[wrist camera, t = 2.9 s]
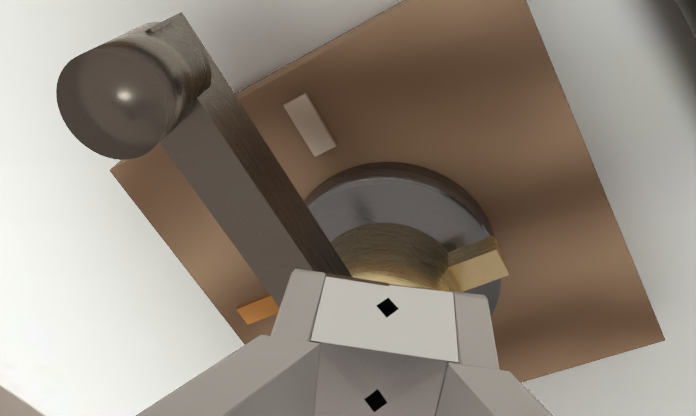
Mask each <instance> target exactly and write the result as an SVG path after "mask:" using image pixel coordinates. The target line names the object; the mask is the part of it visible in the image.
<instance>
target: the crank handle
mask: <svg viewBox="0 0 696 416" xmlns="http://www.w3.org/2000/svg"><path fill="white" fill-rule="evenodd" d="M56 92H57V102H58V107H59V110H60V113H61V115H62V118H63V120H64V122H65V123H66V125H67V127H68V128H69V130H70V131H71V132H72V133H73V135H74V136H75V137H76V138H77V139H78V140H79V141H80V142H81V143H83V144H84V145H85V146H86V147H88V148H89V149H91V150H93V151H94V152H96V153H98V154H100V155H103V156H106V157H109V158H113V159H120V160H128V159H134V158H138V157H141V156H143V155H145V154H147V153H148V152H150V151H151V150H152V149H153V148H154V147H155V146H156V145H158V144H159V143H160V144H161V145H162V146H163V148H164V149H165V151H166V152H167V153H168V155H169V156H170V157H171V159H172V160H173V162H174V163H175V164H176V166H177V167H178V168H179V170H180V171H181V173H182V174H183V175H184V177H185V178H186V180H187V181H188V182H189V184H190V185H191V186H192V188H193V189H194V191H195V192H196V193H197V195H198V196H199V197H200V199H201V200H202V202H203V203H204V204H205V206H206V207H207V209H208V210H209V211H210V213H211V214H212V215H213V217H214V218H215V220H216V221H217V222H218V224H219V225H220V226H221V228H222V229H223V231H224V232H225V233H226V235H227V236H228V238H229V239H230V240H231V242H232V243H233V244H234V246H235V247H236V249H237V250H238V251H239V253H240V254H241V255H242V257H243V258H244V260H245V261H246V262H247V264H248V265H249V267H250V268H251V269H252V271H253V272H254V273H255V275H256V276H257V278H258V279H259V280H260V282H261V283H262V284H263V286H264V287H265V289H266V290H267V291H268V293H269V294H270V296H271V297H272V298H273V300H274V301H275V302H276V304H277V305H278V307H279V308H280V306H281V303H282V300H283V297H284V294H285V291H286V288H287V285H288V282H289V279H290V276H291V273H292V272H293V271H294V270H295V269H302V270H309V271H316V272H323V273H325V274H326V275H327V273H330V274H336V275H342V276H348V277H354V278H360V279H366V280H372V281H378V282H385V283H389V284H394V285H401V286H409V287H416V288H424V289H431V290H439V291H446V292H453V291H454V292H463V291H466V290H469V289H472V288H475V287H477V286H480V285H483V284H486V283H488V282H491V281H494V280H497V279H500V278H502V277H505V276H508V275H509V269H508V264H507V260H506V258H505V256H504V254H503V252H502V250H501V248H500V246H499V244H498V242H497V240H496V238H495V236H494V235H492V236H490V237H487V238H485V239H482V240H479V241H477V242H474V243H472V244H469V245H466V246H464V247H461V248H459V249H456V250H453V251H451V252H449V251H448V250H447V249H446V248H445V247H444V246H443V245H442V244H441V243H440V242H438V241H437V240H436V239H434V238H433V237H431V236H430V235H428V234H426V233H424V232H422V231H420V230H418V229H415V228H412V227H409V226H405V225H401V224H394V223H372V224H366V225H362V226H358V227H355V228H352V229H350V230H348V231H346V232H344V233H342V234H340V235H339V236H338V237H336V238H335V239H334V240H332V241H331V242H330V241H329V239H328V238H327V236H326V235H325V233H324V232H323V230H322V229H321V227H320V226H319V224H318V222H317V221H316V219H315V218H314V216H313V215H312V213H311V212H310V210H309V209H308V207H307V205H306V204H305V202H304V201H303V199H302V198H301V196H300V195H299V193H298V191H297V190H296V188H295V187H294V185H293V184H292V182H291V181H290V179H289V178H288V176H287V174H286V173H285V171H284V170H283V168H282V167H281V165H280V164H279V162H278V161H277V159H276V157H275V156H274V154H273V153H272V151H271V150H270V148H269V147H268V145H267V143H266V142H265V140H264V139H263V137H262V136H261V134H260V133H259V131H258V130H257V128H256V126H255V125H254V123H253V122H252V120H251V119H250V117H249V116H248V114H247V113H246V111H245V109H244V108H243V106H242V105H241V103H240V102H239V100H238V99H237V97H236V95H235V94H234V92H233V91H232V89H231V88H230V86H229V85H228V83H227V82H226V80H225V78H224V77H223V75H222V74H221V72H220V71H219V69H218V68H217V66H216V65H215V63H214V61H213V60H212V58H211V57H210V55H209V54H208V52H207V51H206V49H205V47H204V46H203V44H202V43H201V41H200V40H199V38H198V37H197V35H196V34H195V32H194V30H193V29H192V27H191V26H190V24H189V23H188V21H187V20H186V18H185V17H184V15H183V13H182V12H181V13H179V14H177V15H175V16H173V17H171V18H169V19H167V20H165V21H163V22H153V23H148V24H145V25H142V26H140V27H138V28H136V29H134V30H132V31H130V32H127V33H125V34H123V35H121V36H119V37H117V38H115V39H113V40H111V41H108V42H106V43H104V44H102V45H100V46H98V47H96V48H94V49H92V50H89V51H87V52H85V53H83V54H81V55H79V56H77V57H75V58H74V59H72V60H71V61H70V62H69V63H68V64H67V65H66V66H65V67H64V69H63V70H62V72H61V74H60V76H59V79H58V83H57V91H56Z"/></svg>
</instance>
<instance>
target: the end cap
mask: <svg viewBox="0 0 696 416" xmlns="http://www.w3.org/2000/svg"><path fill="white" fill-rule="evenodd" d="M676 2H677V4H678V6H679V8H680V10H681V12H682V14H683V16H684V18H685V20H686V22H687V24H688V26H689V28H690V30H691V32H692V33H693V35H694V37H695V39H696V0H676Z"/></svg>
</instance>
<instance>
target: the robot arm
mask: <svg viewBox="0 0 696 416" xmlns="http://www.w3.org/2000/svg"><path fill="white" fill-rule="evenodd" d="M136 416H553V415H552V414H551V413H550V412H549V411H548V410H547V409H546V408H545V407H544V406H543V405H542V404H541V403H540V402H539V401H538V400H537V399H536V398H535V397H534V396H533V395H532V394H531V393H530V392H529V391H528V390H527V389H526V388H525V387H524V386H523V385H522V384H521V383H520V381H519V380H518V379H517V378H516V377H515V376H514V375H513V374H512V373H511V372H510V371H504V370H500V369H499V363H498V357H497V351H496V346H495V340H494V334H493V328H492V322H491V316H490V310H489V304H488V299H487V298H486V296H485V295H481V294H472V293H463V292H454V291H453V292H446V291H439V290H431V289H424V288H416V287H409V286H401V285H394V284H389V283H385V282H378V281H372V280H366V279H360V278H354V277H348V276H342V275H336V274H330V273H327V275H326V274H325V273H323V272H316V271H309V270H302V269H295V270H294V271H293V272H292V273H291V276H290V279H289V282H288V285H287V288H286V291H285V294H284V297H283V300H282V303H281V306H280V309H279V312H278V315H277V318H276V321H275V324H274V327H273V330H272V333H271V336H268V335H260V336H258V337H257V338H255V339H253V340H252V341H250V342H249V343H247V344H246V345H244V346H243V347H241V348H240V349H238V350H236V351H235V352H233V353H232V354H230V355H229V356H227V357H226V358H224V359H223V360H221V361H219V362H218V363H216V364H215V365H213V366H212V367H210V368H209V369H207V370H206V371H204V372H202V373H201V374H199V375H198V376H196V377H195V378H193V379H192V380H190V381H189V382H187V383H185V384H184V385H182V386H181V387H179V388H178V389H176V390H175V391H173V392H172V393H170V394H168V395H167V396H165V397H164V398H162V399H161V400H159V401H158V402H156V403H155V404H153V405H151V406H150V407H148V408H147V409H145V410H144V411H142V412H141V413H139V414H138V415H136Z"/></svg>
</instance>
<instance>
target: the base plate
mask: <svg viewBox="0 0 696 416" xmlns="http://www.w3.org/2000/svg"><path fill="white" fill-rule="evenodd" d="M235 95H236V97H237V99H238V100H239V102H240V103H241V105H242V106H243V108H244V109H245V111H246V113H247V114H248V116H249V117H250V119H251V120H252V122H253V123H254V125H255V126H256V128H257V130H258V131H259V133H260V134H261V136H262V137H263V139H264V140H265V142H266V143H267V145H268V147H269V148H270V150H271V151H272V153H273V154H274V156H275V157H276V159H277V161H278V162H279V164H280V165H281V167H282V168H283V170H284V171H285V173H286V174H287V176H288V178H289V179H290V181H291V182H292V184H293V185H294V187H295V188H296V190H297V191H298V193H299V195H300V196H301V198H302V199H303V201H304V200H305V199H306V198H307V196H308V195H309V194H310V193H311V192H312V191H313V190H314V189H315V188H316V187H317V186H318V185H320V184H321V183H323V182H324V181H325V180H327V179H328V178H330V177H332V176H333V175H335V174H337V173H339V172H341V171H344V170H346V169H349V168H352V167H355V166H359V165H363V164H368V163H376V162H400V163H408V164H413V165H417V166H421V167H425V168H428V169H430V170H433V171H436V172H438V173H440V174H442V175H444V176H446V177H448V178H450V179H451V180H453V181H454V182H456V183H457V184H458V185H460V186H461V187H463V188H464V189H465V190H466V191H467V192H468V193H469V194H470V195H471V196H472V197H473V198H474V199H475V200H476V202H477V203H478V204H479V205H480V206H481V208H482V210H483V211H484V213H485V215H486V216H487V218H488V220H489V223H490V225H491V228H492V230H493V234H494V236H495V238H496V240H497V242H498V244H499V246H500V248H501V250H502V252H503V254H504V256H505V258H506V260H507V264H508V269H509V275H508V276H505V277H502V278H501V284H500V294H499V298H498V302H497V305H496V307H495V310H494V312H493V314H492V316H491V322H492V328H493V334H494V340H495V346H496V351H497V357H498V363H499V369H500V370H504V371H510V372H511V373H512V374H513V375H514V376H515V377H516V378H517V379H518V380H519V381H520V382H524V381H527V380H531V379H534V378H538V377H541V376H544V375H548V374H551V373H555V372H558V371H562V370H565V369H568V368H572V367H575V366H579V365H582V364H585V363H589V362H592V361H596V360H599V359H603V358H606V357H609V356H613V355H616V354H620V353H623V352H627V351H630V350H633V349H637V348H640V347H644V346H647V345H651V344H654V343H657V342H661V341H664V340H665V338H664V336H663V333H662V331H661V328H660V326H659V323H658V321H657V319H656V316H655V314H654V311H653V309H652V306H651V304H650V301H649V299H648V297H647V294H646V292H645V289H644V287H643V284H642V282H641V280H640V277H639V275H638V272H637V270H636V267H635V265H634V263H633V260H632V258H631V255H630V253H629V250H628V248H627V246H626V243H625V241H624V238H623V236H622V233H621V231H620V228H619V226H618V224H617V221H616V219H615V216H614V214H613V211H612V209H611V207H610V204H609V202H608V199H607V197H606V194H605V192H604V190H603V187H602V185H601V182H600V180H599V177H598V175H597V172H596V170H595V168H594V165H593V163H592V160H591V158H590V155H589V153H588V151H587V148H586V146H585V143H584V141H583V138H582V136H581V134H580V131H579V129H578V126H577V124H576V121H575V119H574V117H573V114H572V112H571V109H570V107H569V104H568V102H567V99H566V97H565V95H564V92H563V90H562V87H561V85H560V82H559V80H558V78H557V75H556V73H555V70H554V68H553V65H552V63H551V61H550V58H549V56H548V53H547V51H546V48H545V46H544V43H543V41H542V39H541V36H540V34H539V31H538V29H537V26H536V24H535V22H534V19H533V17H532V14H531V12H530V9H529V7H528V5H527V2H526V0H404V1H402V2H400V3H398V4H397V5H395V6H393V7H391V8H389V9H388V10H386V11H384V12H382V13H380V14H379V15H377V16H375V17H373V18H371V19H370V20H368V21H366V22H364V23H362V24H361V25H359V26H357V27H355V28H353V29H352V30H350V31H348V32H346V33H344V34H342V35H341V36H339V37H337V38H335V39H333V40H332V41H330V42H328V43H326V44H324V45H323V46H321V47H319V48H317V49H315V50H314V51H312V52H310V53H308V54H306V55H305V56H303V57H301V58H299V59H297V60H296V61H294V62H292V63H290V64H288V65H287V66H285V67H283V68H281V69H279V70H278V71H276V72H274V73H272V74H270V75H269V76H267V77H265V78H263V79H261V80H260V81H258V82H256V83H254V84H252V85H251V86H249V87H247V88H245V89H243V90H242V91H240V92H238V93H236V94H235ZM110 172H111V173H112V174H113V175H114V177H115V178H116V179H117V181H118V182H119V183H120V184H121V186H122V187H123V188H124V190H125V191H126V192H127V193H128V195H129V196H130V197H131V199H132V200H133V201H134V202H135V204H136V205H137V206H138V208H139V209H140V210H141V211H142V213H143V214H144V215H145V217H146V218H147V219H148V220H149V222H150V223H151V224H152V226H153V227H154V228H155V229H156V231H157V232H158V233H159V235H160V236H161V237H162V238H163V240H164V241H165V242H166V244H167V245H168V246H169V247H170V249H171V250H172V251H173V253H174V254H175V255H176V257H177V258H178V259H179V260H180V262H181V263H182V264H183V266H184V267H185V268H186V269H187V271H188V272H189V273H190V275H191V276H192V277H193V278H194V280H195V281H196V282H197V284H198V285H199V286H200V287H201V289H202V290H203V291H204V293H205V294H206V295H207V296H208V298H209V299H210V300H211V302H212V303H213V304H214V305H215V307H216V308H217V309H218V311H219V312H220V313H221V314H222V316H223V317H224V318H225V320H226V321H227V322H228V323H229V325H230V326H231V327H232V329H233V330H234V331H235V332H236V334H237V335H238V336H239V338H240V339H241V340H242V341H243V343H244V344H245V345H246V344H247V343H249V342H250V341H252V340H253V339H255V338H257V337H258V336H260V335H268V336H271V333H272V330H273V327H274V324H275V321H276V318H277V315H278V312H279V309H280V308H279V307H278V305H277V304H276V302H275V301H274V300H273V298H272V297H271V296H270V294H269V293H268V291H267V290H266V289H265V287H264V286H263V284H262V283H261V282H260V280H259V279H258V278H257V276H256V275H255V273H254V272H253V271H252V269H251V268H250V267H249V265H248V264H247V262H246V261H245V260H244V258H243V257H242V255H241V254H240V253H239V251H238V250H237V249H236V247H235V246H234V244H233V243H232V242H231V240H230V239H229V238H228V236H227V235H226V233H225V232H224V231H223V229H222V228H221V226H220V225H219V224H218V222H217V221H216V220H215V218H214V217H213V215H212V214H211V213H210V211H209V210H208V209H207V207H206V206H205V204H204V203H203V202H202V200H201V199H200V197H199V196H198V195H197V193H196V192H195V191H194V189H193V188H192V186H191V185H190V184H189V182H188V181H187V180H186V178H185V177H184V175H183V174H182V173H181V171H180V170H179V168H178V167H177V166H176V164H175V163H174V162H173V160H172V159H171V157H170V156H169V155H168V153H167V152H166V151H165V149H164V148H163V146H162V145H161V144H160V143H159V144H158V145H156V146H155V147H154V148H153V149H152V150H151V151H150V152H148V153H147V154H145V155H143V156H141V157H138V158H134V159H128V160H121V161H120V162H119V163H117V164H116V165H115V166H114V167H113V168H112V169H111V170H110Z"/></svg>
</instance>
